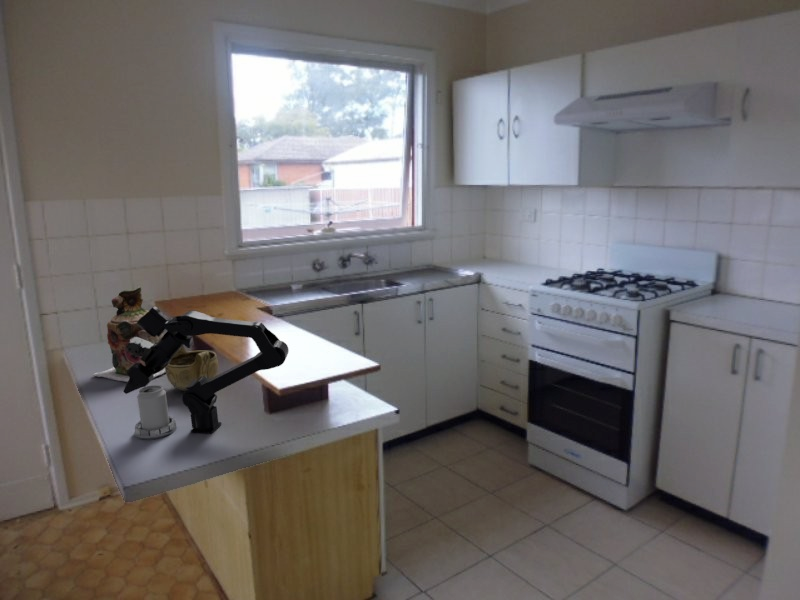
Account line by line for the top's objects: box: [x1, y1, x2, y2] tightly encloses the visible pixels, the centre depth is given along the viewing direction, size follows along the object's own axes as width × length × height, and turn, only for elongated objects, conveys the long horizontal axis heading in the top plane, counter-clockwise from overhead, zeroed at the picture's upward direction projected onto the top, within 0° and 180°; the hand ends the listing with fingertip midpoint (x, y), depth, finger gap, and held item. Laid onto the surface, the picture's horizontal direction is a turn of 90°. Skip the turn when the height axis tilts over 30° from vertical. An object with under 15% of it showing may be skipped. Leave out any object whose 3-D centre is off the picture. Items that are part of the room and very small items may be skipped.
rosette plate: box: [134, 415, 177, 441], centre depth 172 cm, size 11×11×2 cm
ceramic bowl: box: [165, 345, 219, 392], centre depth 203 cm, size 22×17×15 cm
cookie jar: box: [92, 286, 166, 383], centre depth 221 cm, size 25×25×32 cm
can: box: [136, 384, 170, 430], centre depth 170 cm, size 8×8×12 cm
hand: (131, 386), depth 169 cm, fingers open, 9 cm apart
